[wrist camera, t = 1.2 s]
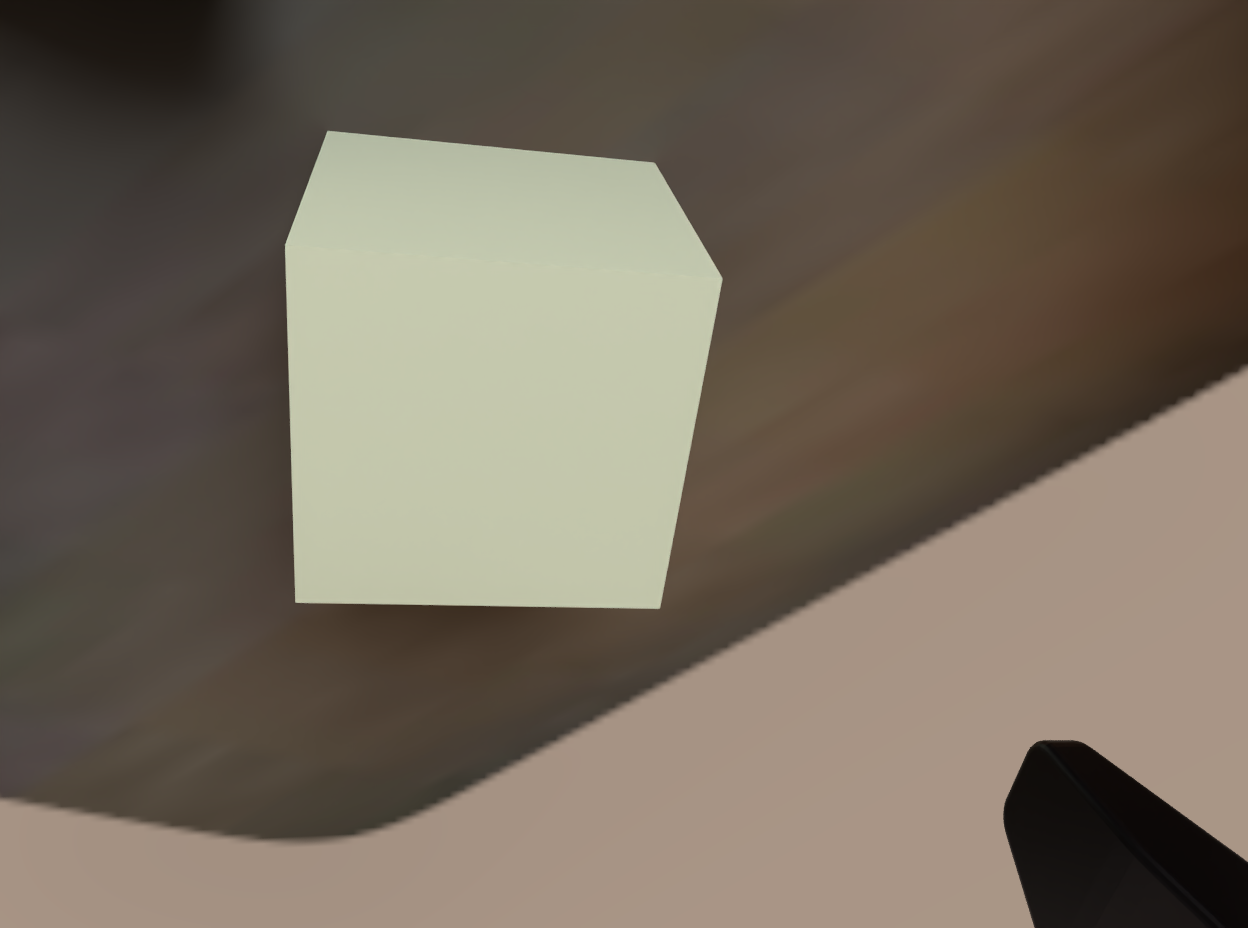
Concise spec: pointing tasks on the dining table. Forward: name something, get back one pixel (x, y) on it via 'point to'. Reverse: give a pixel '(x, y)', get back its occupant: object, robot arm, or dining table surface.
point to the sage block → (490, 375)
